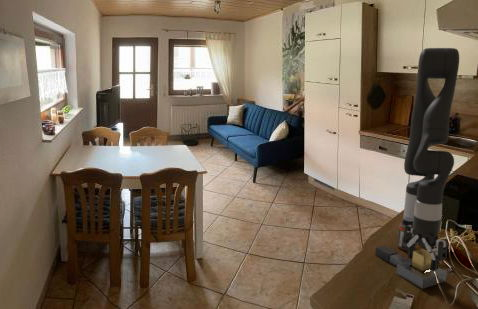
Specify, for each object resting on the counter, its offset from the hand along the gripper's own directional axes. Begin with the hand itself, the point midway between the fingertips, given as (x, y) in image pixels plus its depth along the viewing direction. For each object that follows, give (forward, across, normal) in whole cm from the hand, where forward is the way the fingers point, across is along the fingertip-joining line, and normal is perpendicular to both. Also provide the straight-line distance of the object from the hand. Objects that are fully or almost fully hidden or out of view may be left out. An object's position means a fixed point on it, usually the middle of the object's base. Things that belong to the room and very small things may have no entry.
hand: (421, 263), depth 123 cm
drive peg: (+4, 0, 0) cm, 4 cm away
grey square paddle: (+5, +6, 0) cm, 8 cm away
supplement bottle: (+5, +17, -12) cm, 21 cm away
